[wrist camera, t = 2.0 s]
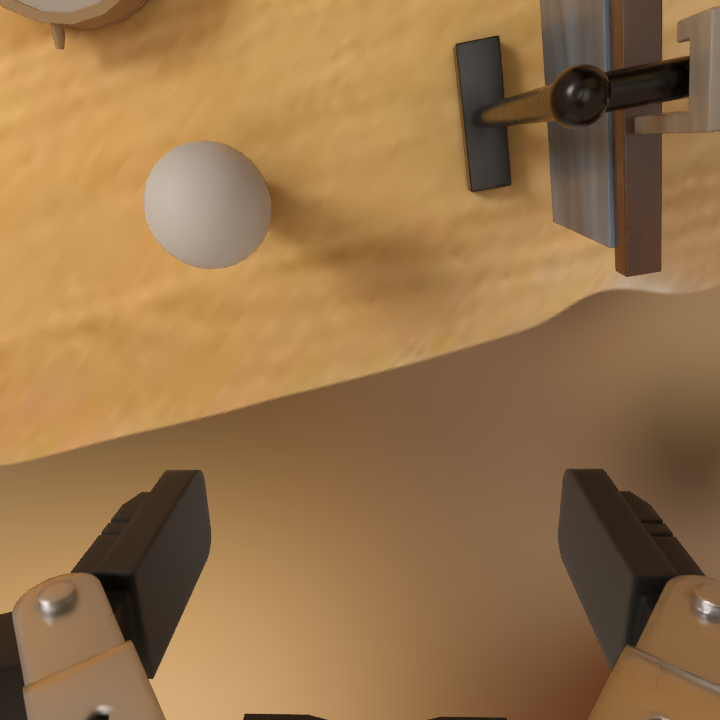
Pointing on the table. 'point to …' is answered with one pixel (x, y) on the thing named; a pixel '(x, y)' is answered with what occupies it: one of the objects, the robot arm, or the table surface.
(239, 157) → the lightbulb
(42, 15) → the alarm clock
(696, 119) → the hanging grey panel
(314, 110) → the table surface
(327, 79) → the table surface
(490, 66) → the valet rail
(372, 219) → the table surface
